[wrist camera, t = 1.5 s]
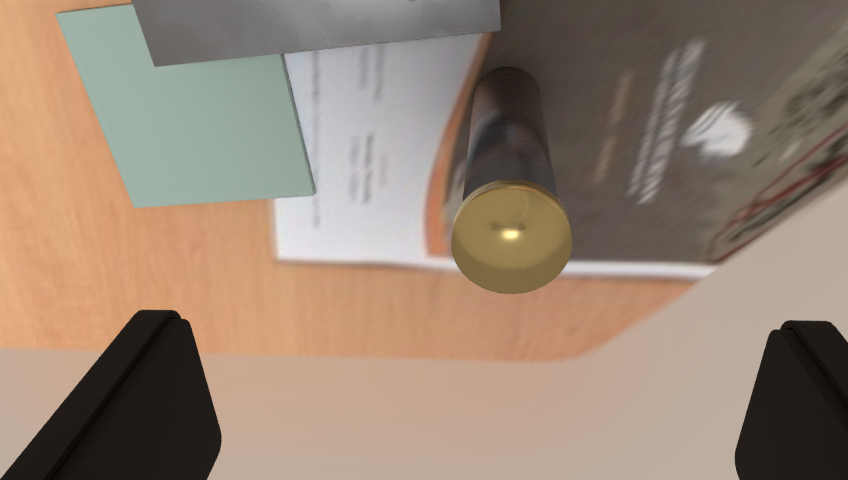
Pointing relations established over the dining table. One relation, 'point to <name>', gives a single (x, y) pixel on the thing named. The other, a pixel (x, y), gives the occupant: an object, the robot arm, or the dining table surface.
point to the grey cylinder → (509, 191)
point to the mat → (188, 117)
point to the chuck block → (299, 25)
